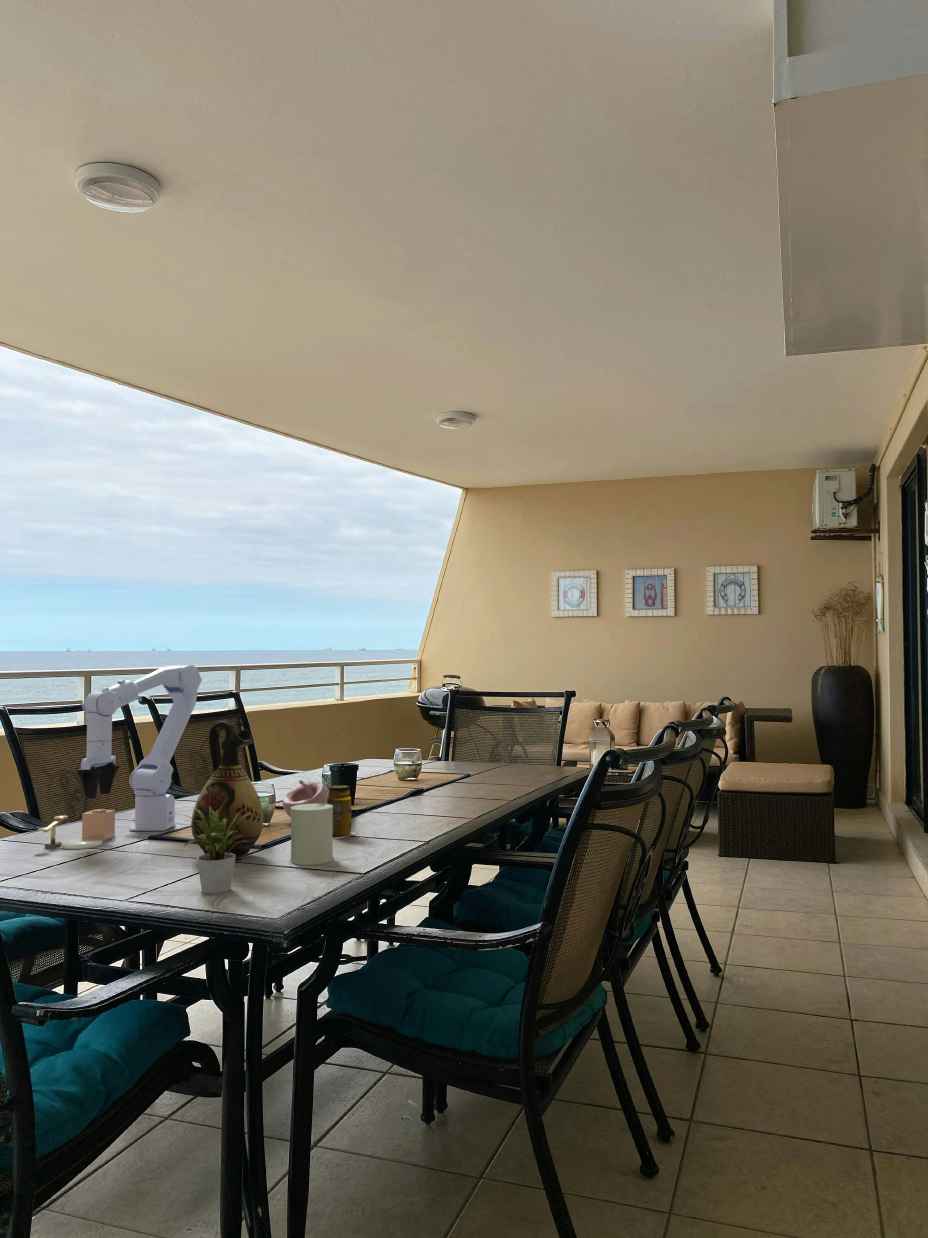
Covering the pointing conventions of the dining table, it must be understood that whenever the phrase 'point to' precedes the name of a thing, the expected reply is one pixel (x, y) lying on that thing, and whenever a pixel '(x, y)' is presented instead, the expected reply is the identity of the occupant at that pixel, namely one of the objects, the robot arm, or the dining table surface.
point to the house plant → (215, 853)
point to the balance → (53, 832)
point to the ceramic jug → (230, 792)
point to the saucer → (82, 843)
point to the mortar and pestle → (305, 795)
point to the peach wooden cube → (98, 824)
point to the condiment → (340, 811)
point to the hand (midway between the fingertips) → (98, 796)
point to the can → (311, 834)
